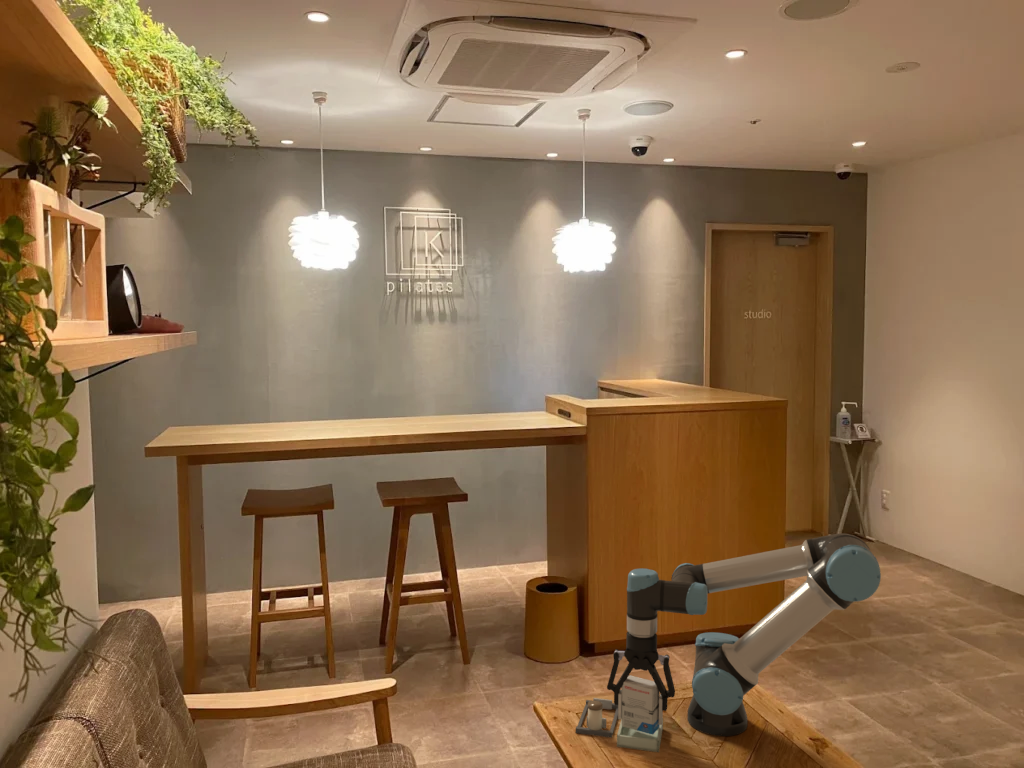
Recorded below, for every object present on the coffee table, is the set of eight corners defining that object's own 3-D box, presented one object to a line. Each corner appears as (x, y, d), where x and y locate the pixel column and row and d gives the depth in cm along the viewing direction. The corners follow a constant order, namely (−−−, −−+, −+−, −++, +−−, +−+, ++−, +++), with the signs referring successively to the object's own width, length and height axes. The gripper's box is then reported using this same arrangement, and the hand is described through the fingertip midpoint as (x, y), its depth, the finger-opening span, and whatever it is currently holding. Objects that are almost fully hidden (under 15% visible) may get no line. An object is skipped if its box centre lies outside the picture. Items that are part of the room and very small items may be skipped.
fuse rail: (620, 708, 222) (620, 699, 222) (611, 737, 206) (611, 728, 206) (586, 704, 224) (586, 695, 224) (575, 732, 209) (575, 723, 208)
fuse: (603, 728, 211) (603, 701, 210) (601, 736, 207) (601, 708, 206) (588, 727, 212) (588, 699, 211) (586, 734, 208) (586, 706, 207)
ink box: (660, 727, 206) (661, 681, 205) (652, 735, 202) (653, 689, 201) (628, 718, 210) (629, 673, 210) (620, 726, 206) (621, 680, 205)
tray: (662, 728, 211) (662, 718, 211) (658, 752, 199) (659, 741, 199) (622, 723, 213) (623, 713, 213) (616, 746, 202) (616, 735, 202)
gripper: (687, 631, 205) (685, 718, 207) (600, 622, 211) (598, 707, 212) (686, 642, 198) (684, 732, 200) (595, 633, 203) (594, 720, 205)
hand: (640, 719), depth 206 cm, fingers closed on ink box, 9 cm apart
